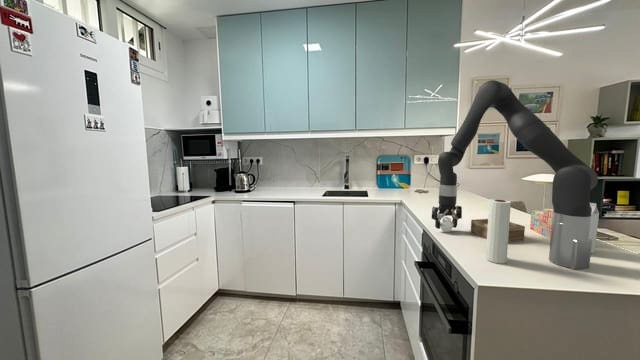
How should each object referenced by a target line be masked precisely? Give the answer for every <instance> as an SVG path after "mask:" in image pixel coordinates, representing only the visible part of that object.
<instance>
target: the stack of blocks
mask: <svg viewBox="0 0 640 360" xmlns="http://www.w3.org/2000/svg"><path fill="white" fill-rule="evenodd" d="M552 219H553V208H543V210H531V211H530V225H529V227H530V228H529V229H530V230H532V231H534V232H536V233H537V234H539V235H542V236H544V237H545V238H548V239H550V240H551V229H552Z"/></svg>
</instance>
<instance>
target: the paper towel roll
mask: <svg viewBox="0 0 640 360" xmlns="http://www.w3.org/2000/svg"><path fill="white" fill-rule="evenodd" d="M511 205H512V201H509V200H504V199H496V198H495V199H494V198H491V197H490V198H489V201H488V214H487V215H488V216H487V217H488V218H487V219H488V229H487V239H486V246H485V247H486V249H485V259H486V260H487V261H489V262H491V263H495V264H506V263H507V259H508V248H509V242H508V236H509V222H511V221H510V219H511V210H512V209H511Z"/></svg>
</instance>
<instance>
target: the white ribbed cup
mask: <svg viewBox="0 0 640 360" xmlns="http://www.w3.org/2000/svg"><path fill="white" fill-rule="evenodd" d="M453 228H454V227H453V223H452V219H451V218H450V217H449V216H444V217H443V218H442V219H441V220H440V229H441V231H442V232H444V233H450V232H451V231H452V229H453Z"/></svg>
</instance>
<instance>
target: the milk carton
mask: <svg viewBox="0 0 640 360" xmlns="http://www.w3.org/2000/svg"><path fill="white" fill-rule="evenodd" d="M590 206H591V208H592V214H591V222H590V231H589V239H591V240H592V248H591V254H593V253H595V252H596V245H597V244H596V243H597V236H598V228H599V227H598V226H599V219H600V218H599V215H600V212H599V210H598V207H597V203H595V202H590Z"/></svg>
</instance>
